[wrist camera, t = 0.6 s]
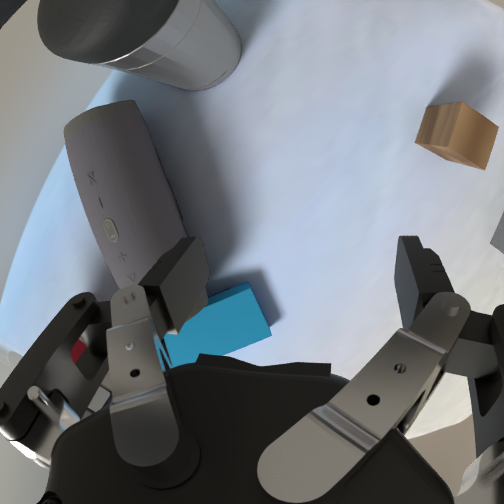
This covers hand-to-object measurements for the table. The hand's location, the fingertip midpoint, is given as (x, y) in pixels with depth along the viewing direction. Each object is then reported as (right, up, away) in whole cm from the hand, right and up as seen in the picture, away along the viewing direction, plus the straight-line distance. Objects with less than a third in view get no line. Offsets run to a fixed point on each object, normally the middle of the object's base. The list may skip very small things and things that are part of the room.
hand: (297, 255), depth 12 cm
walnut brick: (+18, +13, +15) cm, 27 cm away
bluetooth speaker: (-13, +6, +24) cm, 28 cm away
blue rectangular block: (-9, -9, +29) cm, 32 cm away
